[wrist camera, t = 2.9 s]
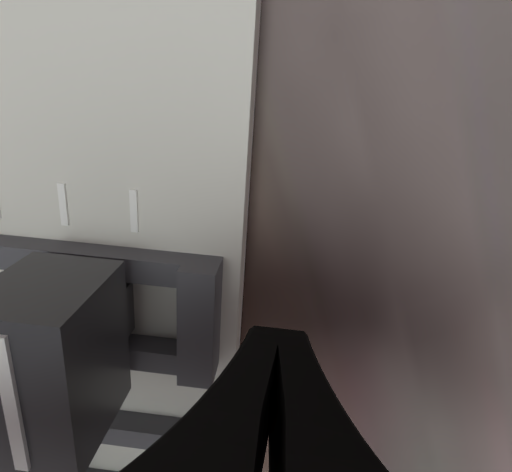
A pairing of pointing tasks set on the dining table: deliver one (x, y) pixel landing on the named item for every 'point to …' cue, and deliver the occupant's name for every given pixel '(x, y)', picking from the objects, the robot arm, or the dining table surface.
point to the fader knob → (61, 359)
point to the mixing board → (137, 176)
